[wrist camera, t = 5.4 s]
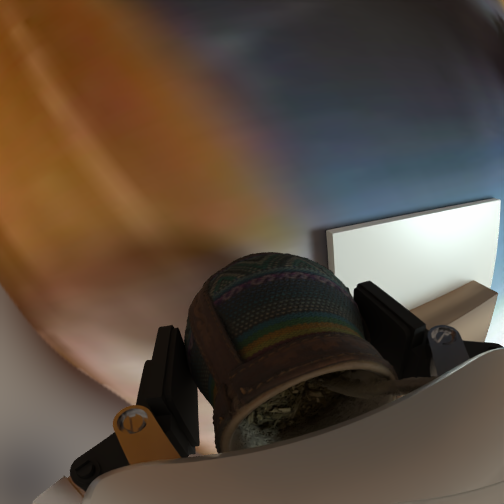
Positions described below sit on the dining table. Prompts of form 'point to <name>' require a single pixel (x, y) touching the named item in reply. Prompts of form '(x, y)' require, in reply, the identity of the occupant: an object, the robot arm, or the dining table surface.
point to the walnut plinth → (461, 311)
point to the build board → (419, 251)
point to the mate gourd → (283, 352)
